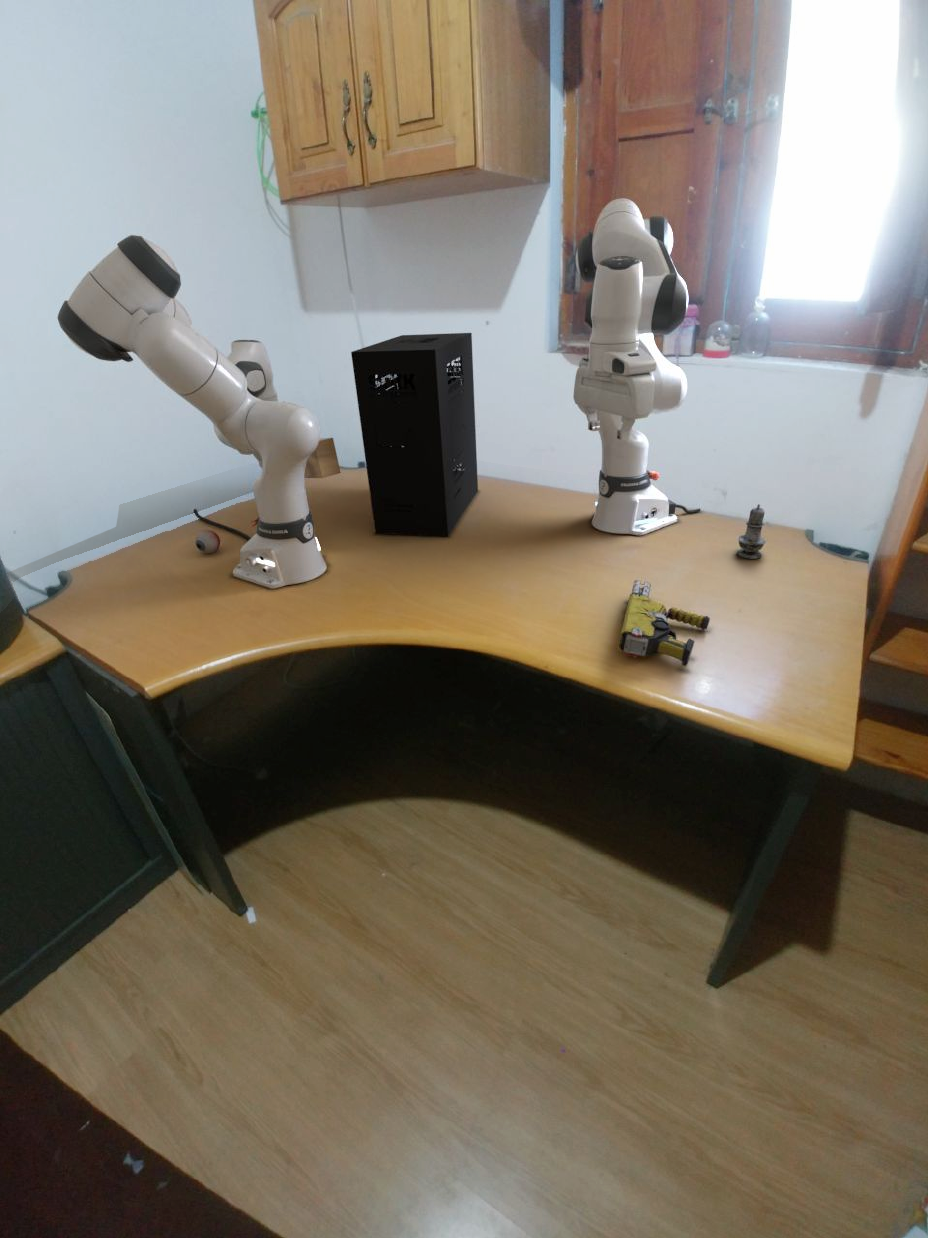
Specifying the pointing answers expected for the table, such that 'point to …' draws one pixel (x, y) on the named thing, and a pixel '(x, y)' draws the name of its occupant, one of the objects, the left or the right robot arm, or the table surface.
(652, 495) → the right robot arm
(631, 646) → the toy gun
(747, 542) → the salt shaker
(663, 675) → the table surface
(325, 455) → the bar
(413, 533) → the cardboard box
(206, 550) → the eyeball
